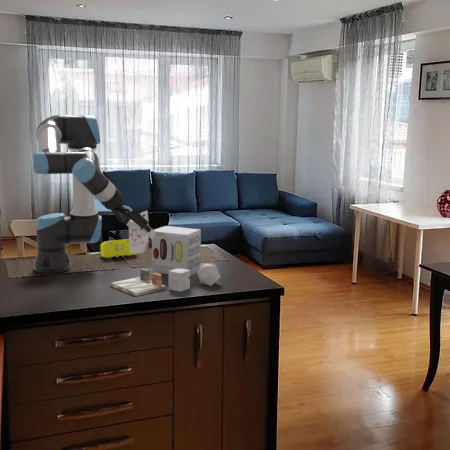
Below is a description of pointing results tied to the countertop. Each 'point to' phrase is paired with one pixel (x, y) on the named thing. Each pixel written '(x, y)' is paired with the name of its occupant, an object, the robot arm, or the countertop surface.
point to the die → (208, 274)
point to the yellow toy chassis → (115, 248)
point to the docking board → (141, 284)
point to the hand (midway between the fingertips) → (146, 234)
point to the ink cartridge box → (138, 237)
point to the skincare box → (179, 279)
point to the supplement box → (176, 249)
